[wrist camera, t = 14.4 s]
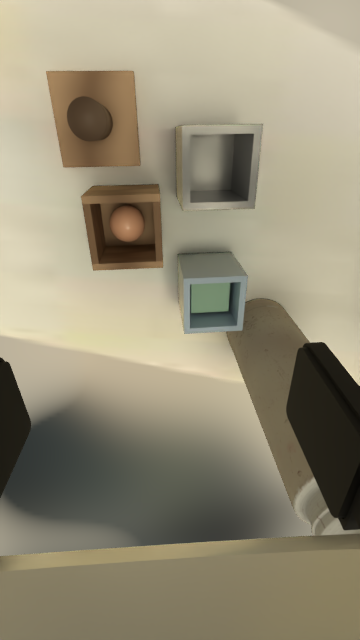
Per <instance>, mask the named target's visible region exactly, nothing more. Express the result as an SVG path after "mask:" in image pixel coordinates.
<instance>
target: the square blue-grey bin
mask: <svg viewBox="0 0 360 640" xmlns="http://www.w3.org/2000/svg"><path fill="white" fill-rule="evenodd" d="M247 279H248V275H247V274H246V272H245V271H244V270H243V268H242V267H241V265H240V264H239V262H238V261H237V260H236V258H235V257H234V255H233V254H232V252H217V253H192V254H178V294H179V307H180V313H181V319H182V325H183V331H184V334H190V333H207V332H225V331H242V329H243V319H244V309H245V299H246V289H247ZM211 283H230V295H229V309H228V311H223V312H204V313H191V310H190V284H211Z"/></svg>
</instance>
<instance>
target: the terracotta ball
mask: <svg viewBox="0 0 360 640" xmlns="http://www.w3.org/2000/svg"><path fill="white" fill-rule="evenodd" d="M110 229H111V231H112V233H113V235H114V236H115V237H116V238H118V239H119V240H121V241H124V242H132V241H135V240H137V239H138V238H139V237H141V235H142V234H143V232H144V229H145V220H144V217H143V215H142V213H141V212H140V211H139V210H138V209H136V208H135V207H133V206H128V205H125V206H120V207H118V208H117V209H115V210H114V211H113V213H112V215H111V217H110Z"/></svg>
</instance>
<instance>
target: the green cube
mask: <svg viewBox="0 0 360 640" xmlns="http://www.w3.org/2000/svg"><path fill="white" fill-rule="evenodd" d="M229 295H230V283H211V284H190V310H191V313H204V312H223V311H228V309H229Z"/></svg>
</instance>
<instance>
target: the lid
mask: <svg viewBox="0 0 360 640" xmlns="http://www.w3.org/2000/svg"><path fill="white" fill-rule="evenodd" d="M46 74H47V79H48V85H49V90H50V96H51V101H52V107H53V112H54V118H55V123H56V129H57V134H58V140H59V145H60V151H61V156H62V162H63V167H99V166H140V154H139V140H138V126H137V112H136V98H135V83H134V72H133V71H46Z"/></svg>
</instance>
